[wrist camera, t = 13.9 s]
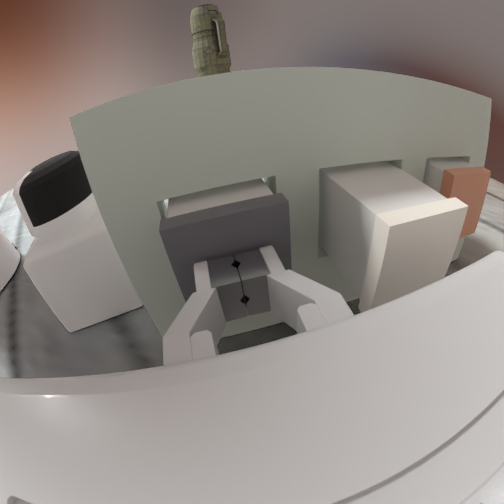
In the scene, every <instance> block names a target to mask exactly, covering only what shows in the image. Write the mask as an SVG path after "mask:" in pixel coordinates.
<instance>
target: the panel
mask: <svg viewBox="0 0 504 504" xmlns="http://www.w3.org/2000/svg"><path fill="white" fill-rule="evenodd" d="M490 115H491V99H490V98H488V97H485V96H482V95H479V94H477V93H474V92H470V91H467V90H464V89H461V88H457V87H454V86H450V85H447V84H443V83H439V82H435V81H430V80H426V79H421V78H417V77H411V76H406V75H400V74H394V73H388V72H380V71H372V70H362V69H350V68H332V67H286V68H267V69H255V70H244V71H236V72H228V73H221V74H214V75H208V76H203V77H197V78H192V79H188V80H183V81H178V82H174V83H169V84H166V85H161V86H157V87H154V88H150V89H147V90H143V91H140V92H136V93H133V94H130V95H127V96H124V97H121V98H118V99H115V100H112V101H109V102H106V103H104V104H101V105H98V106H96V107H93V108H91V109H88V110H86V111H83V112H81V113H79V114H76V115H74V116H72V117H70V121H71V125H72V129H73V132H74V136H75V140H76V143H77V147H78V150H79V153H80V157H81V160H82V163H83V166H84V169H85V172H86V175H87V178H88V181H89V184H90V187H91V190H92V192H93V195H94V198H95V200H96V203H97V206H98V208H99V211H100V213H101V216H102V218H103V221H104V223H105V226H106V228H107V230H108V233H109V235H110V237H111V240H112V242H113V244H114V246H115V249H116V251H117V253H118V255H119V257H120V260H121V262H122V264H123V266H124V268H125V270H126V272H127V274H128V276H129V278H130V280H131V282H132V284H133V286H134V288H135V290H136V292H137V294H138V296H139V298H140V299H141V301H142V303H143V305H144V307H145V309H146V310H147V312H148V314H149V316H150V318H151V319H152V321H153V323H154V325H155V326H156V328H157V330H158V331H159V333H160V335H161V336H162V338H163V337H164V335H165V334H166V332H167V331H168V329H169V328H170V326H171V325H172V323H173V322H174V320H175V319H176V317H177V316H178V314H179V313H180V311H181V310H182V308H183V307H184V305H185V304H186V302H185V299H184V297H183V294H182V292H181V289H180V287H179V284H178V282H177V279H176V277H175V274H174V271H173V269H172V266H171V263H170V261H169V258H168V255H167V252H166V250H165V247H164V244H163V241H162V238H161V235H160V233H159V226H160V220H162V219H166V218H167V214H168V212H167V209H166V206H165V202H164V200H165V199H169V198H173V197H177V196H181V195H185V194H189V193H194V192H198V191H202V190H207V189H211V188H215V187H220V186H225V185H229V184H234V183H239V182H244V181H249V180H254V179H260V178H264V179H265V184H266V185H267V186H268V188H269V189H270V190H271V192H272V193H273V194H278V193H282V194H283V195H284V196H285V198H286V199H287V200H288V201H289V215H290V238H291V267H292V271H294V272H296V273H298V274H300V275H302V276H304V277H307V278H309V279H311V280H313V281H315V282H317V283H319V284H321V285H324V286H326V287H328V288H330V289H332V290H334V291H336V292H338V293H340V294H341V295H342V297H343V299H344V300H345V302H349V301H352V300H355V299H358V298H359V297H358V296H357V294H356V293H355V292H354V290H353V289H352V287H351V286H350V285H349V283H348V282H347V280H346V279H345V278H344V276H343V275H342V273H341V272H340V271H339V269H338V268H337V267H336V265H335V264H334V263H333V261H332V260H331V259H330V257H329V256H328V254H327V253H326V252H325V250H324V249H323V248H322V247H321V245H320V244H319V243H318V234H319V169H320V168H327V167H335V166H342V165H350V164H359V163H368V162H378V161H387V162H388V163H390V164H392V165H394V166H396V167H397V168H399V169H401V170H403V171H404V172H406V173H408V174H410V175H411V176H413V177H415V178H416V179H418V180H420V181H421V182H423V181H424V174H425V167H426V159H427V158H431V157H458V158H460V159H462V160H464V161H466V162H468V163H470V164H472V165H473V166H475V167H484V163H485V157H486V151H487V144H488V136H489V126H490ZM465 237H466V236H464V237H462V238H459V240H458V243H457V246H456V249H455V251H454V254H453V257H452V260H451V262H452V261H454V260H456V259H458V257H459V254H460V251H461V249H462V246H463V243H464V240H465ZM246 310H247V309H246ZM247 315H248V312H247ZM282 322H284V321H282V320H281V319H280V318H278V317H277V316H276V315H274V314H273V313H272V312H271V311H268V312H263V313H259V314H255V315H251V316H249V315H248V316H246V317H243V318H239V319H236V320H232V321H228V322H226V325H225V328H224V330H223V333H222V335H221V338H223V337H228V336H232V335H236V334H240V333H244V332H248V331H252V330H256V329H260V328H263V327H267V326H271V325H274V324H278V323H282Z"/></svg>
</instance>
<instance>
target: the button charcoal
mask: <svg viewBox="0 0 504 504" xmlns="http://www.w3.org/2000/svg"><path fill="white" fill-rule="evenodd" d="M159 233H160V235H161V238H162V241H163V244H164V247H165V250H166V252H167V255H168V258H169V261H170V263H171V266H172V269H173V271H174V274H175V277H176V279H177V282H178V284H179V287H180V289H181V292H182V294H183V297H184V299H185V302H187V301H188V299H189V298H190V296H191V295H192V293H194V292H196V284H195V275H194V263H197V262H201V261H207V260H210V259H215V258H219V257H224V256H229V255H234V254H238V253H243V252H247V251H251V250H255V249H259V248H261V247H265V246H269V245H272V246H273V248H274V249H275V251H276V253H277V255H278V257H279V259H280V261H281V263H282V264H283V266H284V268H285V270H289V269H290V270H292V267H291V238H290V215H289V201H288V200H287V199H286V198H285V196H284V195H283V194H282V193H278V194H273V193H272V192H271V190H270V189H269V188H268V186H267V185H266V184H265V183H264V181H263V180H262V179H261V178H260V179H254V180H249V181H244V182H239V183H234V184H229V185H225V186H220V187H215V188H211V189H207V190H202V191H198V192H194V193H189V194H185V195H181V196H177V197H173V198H169V202H168V214H167V218H166V219H162V220H160V226H159Z"/></svg>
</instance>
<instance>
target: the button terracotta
mask: <svg viewBox="0 0 504 504" xmlns="http://www.w3.org/2000/svg"><path fill="white" fill-rule="evenodd" d="M490 173H491V171H489V170H487V169H485V168H484V167H475V166H473V165H472V164H470V163H468V162H466V161H464V160H462V159H460V158H458V157H431V158H427V159H426V167H425V174H424V181H423V183H424V184H426V185H428V186H429V187H431V188H432V189H434V190H435V191H437V192H438V193H440V194H441V195H443V196H444V197H446V198H447V199H449V198H454V197H456V198H458V199H459V200H460V201H462V202H463V203H465V204H466V205H468V210H467V214H466V217H465V221H464V224H463V227H462V231H461V234H460V237H459V238H462V237H464V236H467V235H470V234H472V233H475V230H476V227H477V224H478V220H479V217H480V214H481V210H482V207H483V203H484V199H485V195H486V191H487V187H488V183H489V178H490Z"/></svg>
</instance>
